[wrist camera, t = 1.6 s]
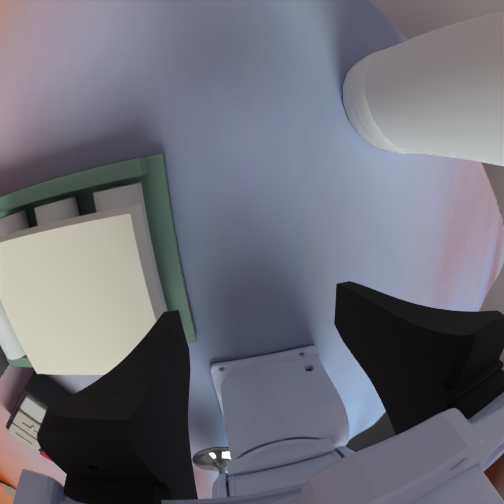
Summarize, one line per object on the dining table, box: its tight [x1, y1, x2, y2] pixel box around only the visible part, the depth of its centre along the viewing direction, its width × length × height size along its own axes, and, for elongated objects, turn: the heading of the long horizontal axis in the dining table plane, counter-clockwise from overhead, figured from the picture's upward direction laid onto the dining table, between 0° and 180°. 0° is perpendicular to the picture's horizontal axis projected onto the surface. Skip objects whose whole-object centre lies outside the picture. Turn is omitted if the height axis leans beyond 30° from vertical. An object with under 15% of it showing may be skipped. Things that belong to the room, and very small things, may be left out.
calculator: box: [6, 371, 72, 461], centre depth 22 cm, size 11×4×15 cm
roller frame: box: [0, 153, 197, 378], centre depth 15 cm, size 20×14×7 cm
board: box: [0, 204, 165, 375], centre depth 14 cm, size 10×9×2 cm
